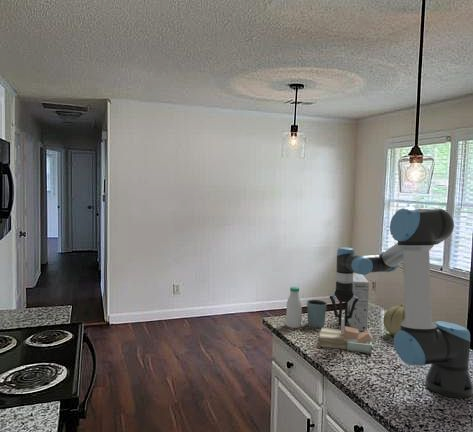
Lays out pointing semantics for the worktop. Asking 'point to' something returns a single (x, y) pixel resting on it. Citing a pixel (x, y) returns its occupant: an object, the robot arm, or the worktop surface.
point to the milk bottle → (294, 309)
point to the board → (332, 338)
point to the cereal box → (359, 303)
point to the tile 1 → (351, 332)
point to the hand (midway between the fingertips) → (342, 332)
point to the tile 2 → (364, 337)
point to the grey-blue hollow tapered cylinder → (316, 312)
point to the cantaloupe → (394, 319)
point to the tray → (359, 345)
